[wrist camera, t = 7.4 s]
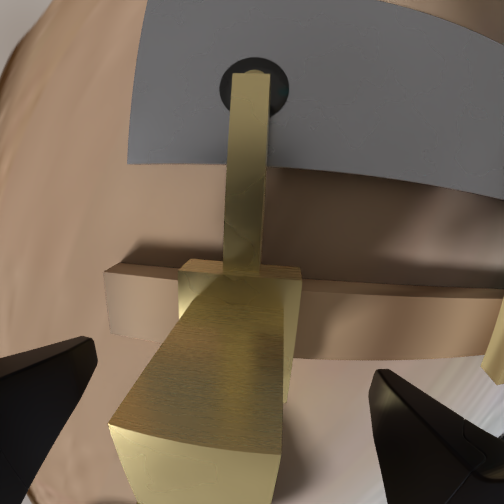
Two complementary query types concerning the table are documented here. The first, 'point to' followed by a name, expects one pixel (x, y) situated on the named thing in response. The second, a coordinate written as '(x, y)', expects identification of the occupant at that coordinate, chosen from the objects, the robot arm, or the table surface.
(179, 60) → the hole plate
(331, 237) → the table surface
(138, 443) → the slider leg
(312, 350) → the rail
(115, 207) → the table surface
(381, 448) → the robot arm
